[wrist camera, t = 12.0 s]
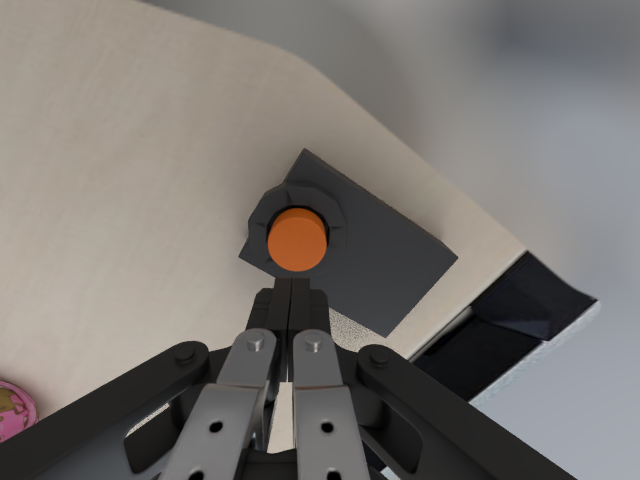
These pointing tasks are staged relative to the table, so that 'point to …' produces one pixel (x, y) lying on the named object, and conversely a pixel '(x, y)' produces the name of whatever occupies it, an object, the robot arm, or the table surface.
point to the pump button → (297, 240)
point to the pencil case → (15, 411)
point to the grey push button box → (352, 246)
